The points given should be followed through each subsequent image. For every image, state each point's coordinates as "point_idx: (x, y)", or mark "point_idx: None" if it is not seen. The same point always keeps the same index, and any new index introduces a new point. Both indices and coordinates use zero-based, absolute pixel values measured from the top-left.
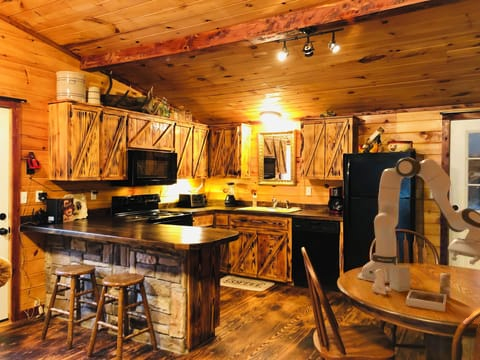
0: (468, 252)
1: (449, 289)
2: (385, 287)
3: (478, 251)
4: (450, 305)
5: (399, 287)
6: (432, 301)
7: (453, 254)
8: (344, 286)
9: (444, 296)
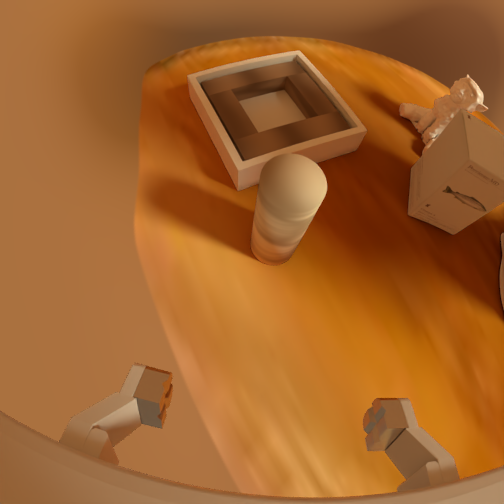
0: (217, 498)
1: (253, 221)
2: (434, 130)
3: (39, 496)
4: (212, 178)
5: (420, 158)
6: (237, 85)
7: (426, 442)
8: (490, 124)
9: (229, 141)
